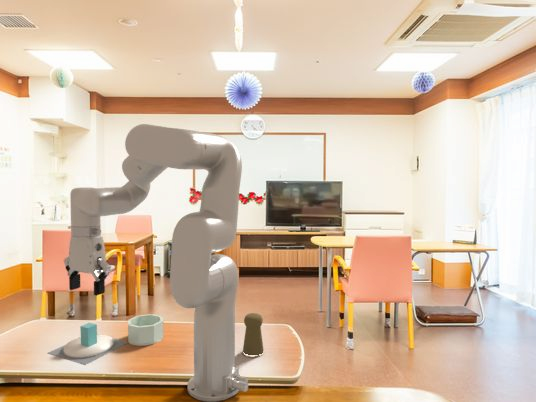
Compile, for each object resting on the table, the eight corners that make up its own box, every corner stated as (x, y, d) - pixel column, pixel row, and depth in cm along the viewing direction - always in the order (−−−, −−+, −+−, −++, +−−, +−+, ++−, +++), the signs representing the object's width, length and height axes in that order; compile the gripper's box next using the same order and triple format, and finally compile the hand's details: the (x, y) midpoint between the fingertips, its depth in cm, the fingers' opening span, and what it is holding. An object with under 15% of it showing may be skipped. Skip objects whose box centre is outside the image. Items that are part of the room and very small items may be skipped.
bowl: (169, 336, 121) (169, 317, 120) (147, 349, 112) (146, 329, 111) (144, 330, 125) (144, 312, 125) (120, 343, 116) (120, 323, 116)
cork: (250, 345, 115) (250, 309, 114) (267, 350, 112) (268, 313, 111) (238, 354, 110) (238, 315, 109) (256, 359, 107) (256, 320, 106)
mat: (128, 343, 116) (128, 342, 115) (85, 366, 102) (85, 364, 102) (92, 334, 122) (92, 333, 122) (47, 354, 108) (47, 353, 108)
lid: (123, 342, 115) (122, 321, 115) (86, 362, 103) (85, 338, 103) (91, 334, 120) (91, 314, 120) (53, 352, 109) (52, 329, 108)
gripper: (119, 232, 109) (119, 292, 111) (76, 227, 116) (77, 283, 118) (97, 236, 102) (98, 300, 104) (52, 230, 110) (54, 290, 111)
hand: (87, 291), depth 111 cm, fingers open, 9 cm apart
